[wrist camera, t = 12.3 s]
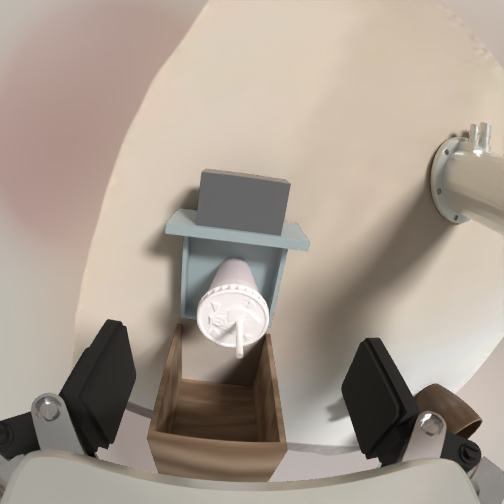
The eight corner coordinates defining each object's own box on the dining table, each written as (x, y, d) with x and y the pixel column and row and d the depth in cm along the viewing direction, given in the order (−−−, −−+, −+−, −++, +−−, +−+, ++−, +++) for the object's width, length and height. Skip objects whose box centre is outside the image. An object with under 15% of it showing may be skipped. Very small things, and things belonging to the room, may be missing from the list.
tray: (183, 164, 29) (169, 169, 23) (306, 181, 30) (321, 190, 24) (174, 303, 35) (164, 331, 29) (277, 314, 36) (283, 344, 31)
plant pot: (456, 361, 45) (490, 408, 30) (446, 395, 51) (472, 438, 36) (401, 390, 46) (430, 447, 32) (398, 421, 52) (419, 469, 37)
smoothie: (259, 297, 34) (269, 383, 21) (206, 294, 33) (190, 379, 20) (264, 248, 32) (280, 323, 19) (207, 244, 31) (186, 317, 18)
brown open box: (177, 323, 37) (146, 438, 20) (270, 334, 38) (287, 450, 21) (178, 380, 41) (160, 478, 24) (256, 388, 42) (263, 487, 25)
